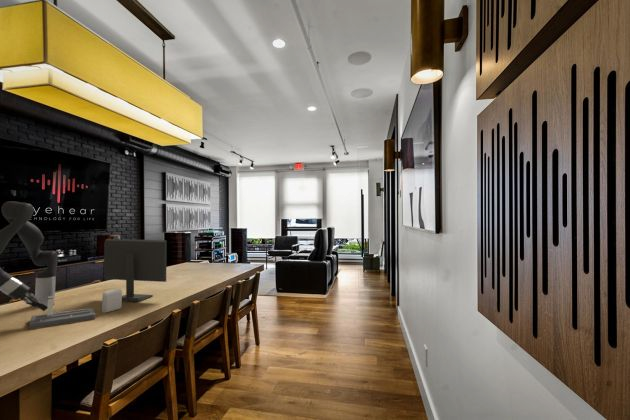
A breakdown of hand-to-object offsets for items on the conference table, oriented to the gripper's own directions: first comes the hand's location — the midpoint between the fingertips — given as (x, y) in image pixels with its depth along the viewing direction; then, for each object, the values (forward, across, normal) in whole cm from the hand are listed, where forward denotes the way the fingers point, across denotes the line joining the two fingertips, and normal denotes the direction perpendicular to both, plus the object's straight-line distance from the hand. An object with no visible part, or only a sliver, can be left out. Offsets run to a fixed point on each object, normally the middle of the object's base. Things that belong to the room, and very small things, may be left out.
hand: (46, 309), depth 158 cm
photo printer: (+26, +5, -16) cm, 31 cm away
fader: (+4, 0, +2) cm, 4 cm away
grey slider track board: (+10, 0, 0) cm, 10 cm away
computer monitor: (+36, +28, -26) cm, 52 cm away
